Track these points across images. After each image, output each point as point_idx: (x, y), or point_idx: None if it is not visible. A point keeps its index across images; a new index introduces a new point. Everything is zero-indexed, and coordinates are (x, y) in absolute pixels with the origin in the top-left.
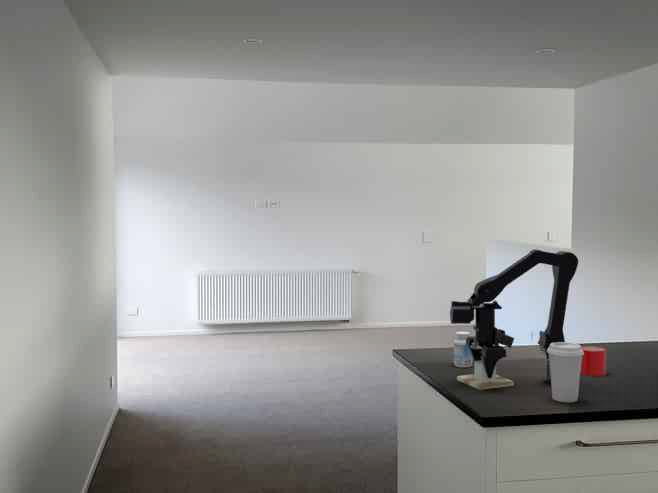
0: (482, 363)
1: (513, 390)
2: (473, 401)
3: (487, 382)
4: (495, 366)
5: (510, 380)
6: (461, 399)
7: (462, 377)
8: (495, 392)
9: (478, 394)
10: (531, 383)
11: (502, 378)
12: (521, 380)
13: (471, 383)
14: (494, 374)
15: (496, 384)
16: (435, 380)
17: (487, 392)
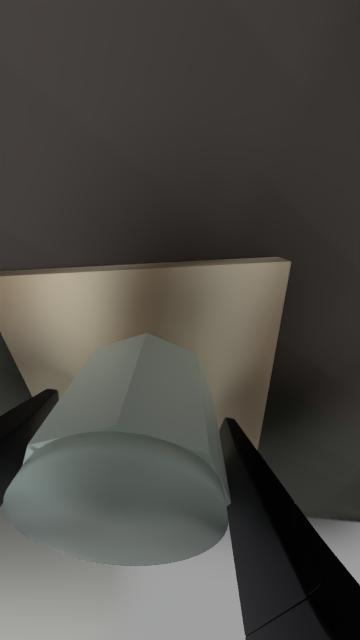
0: (155, 548)
1: (357, 325)
2: (348, 502)
3: (225, 415)
4: (210, 448)
5: (256, 271)
6: (307, 514)
7: None
8: (319, 412)
9: (297, 466)
10: (319, 30)
11: (180, 293)
12: (180, 68)
13: None
14: (206, 395)
15: (266, 386)
16: None
17: (297, 435)
